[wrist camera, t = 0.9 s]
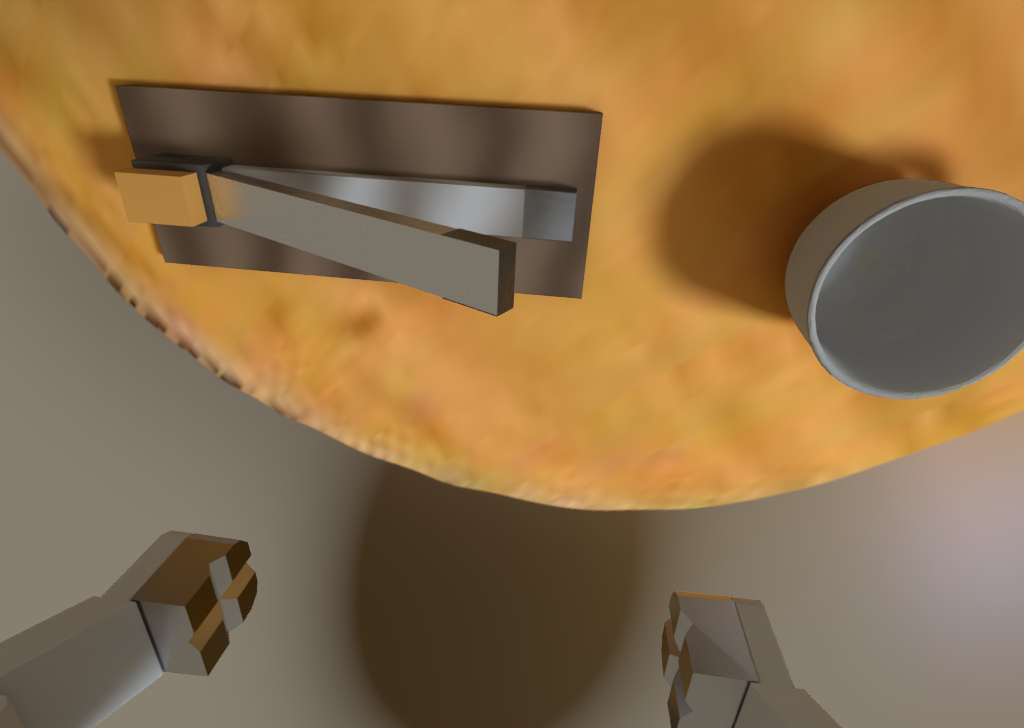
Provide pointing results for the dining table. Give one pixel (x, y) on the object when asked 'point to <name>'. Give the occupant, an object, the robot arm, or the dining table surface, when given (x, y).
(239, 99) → the board
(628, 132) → the dining table surface
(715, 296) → the dining table surface
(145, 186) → the tab
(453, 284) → the tongs arm
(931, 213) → the teacup
